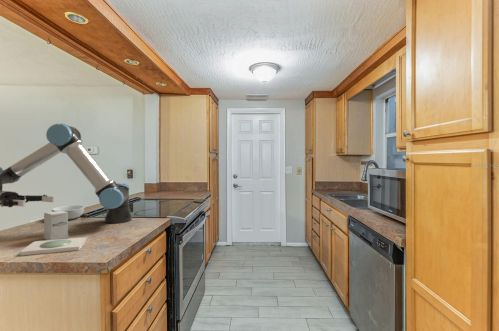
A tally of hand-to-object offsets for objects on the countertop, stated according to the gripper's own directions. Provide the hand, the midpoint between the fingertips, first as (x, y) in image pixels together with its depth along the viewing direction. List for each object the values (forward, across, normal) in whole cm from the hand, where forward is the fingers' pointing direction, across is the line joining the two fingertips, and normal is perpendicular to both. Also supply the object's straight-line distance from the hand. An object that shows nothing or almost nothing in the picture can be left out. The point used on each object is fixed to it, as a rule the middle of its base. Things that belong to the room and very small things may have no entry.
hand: (39, 201), depth 129 cm
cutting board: (+22, +10, -17) cm, 30 cm away
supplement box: (+10, 0, -17) cm, 20 cm away
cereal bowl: (-21, -34, -18) cm, 44 cm away
